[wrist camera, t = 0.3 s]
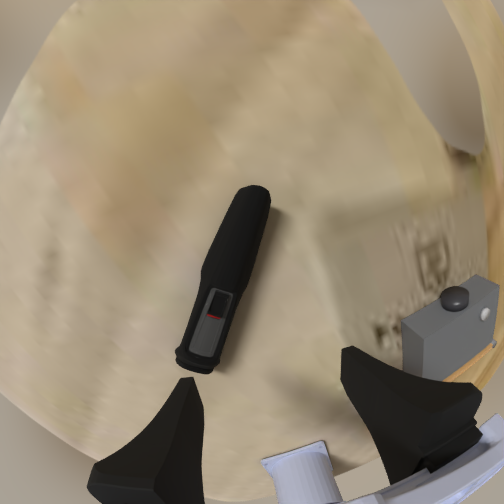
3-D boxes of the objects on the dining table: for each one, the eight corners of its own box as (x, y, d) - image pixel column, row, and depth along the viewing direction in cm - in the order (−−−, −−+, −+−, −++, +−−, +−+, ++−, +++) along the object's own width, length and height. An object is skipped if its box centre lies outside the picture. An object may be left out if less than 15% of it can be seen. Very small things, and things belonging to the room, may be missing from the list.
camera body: (472, 328, 26) (494, 343, 22) (403, 374, 26) (423, 397, 22) (476, 266, 24) (503, 278, 20) (400, 312, 24) (427, 333, 20)
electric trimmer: (280, 196, 21) (291, 197, 18) (214, 367, 23) (214, 389, 20) (232, 178, 20) (235, 176, 17) (173, 355, 23) (167, 377, 19)
